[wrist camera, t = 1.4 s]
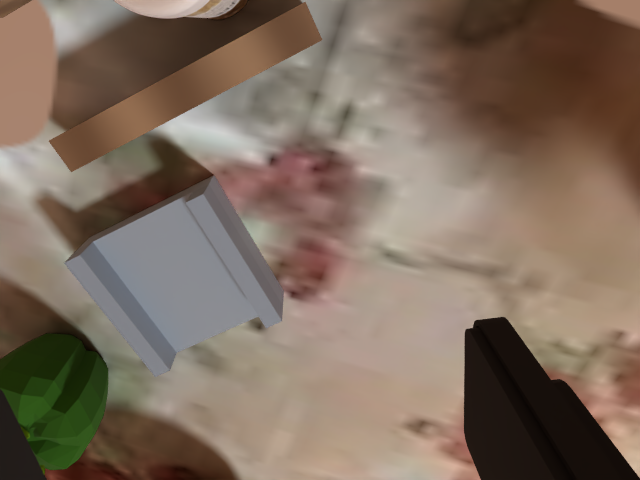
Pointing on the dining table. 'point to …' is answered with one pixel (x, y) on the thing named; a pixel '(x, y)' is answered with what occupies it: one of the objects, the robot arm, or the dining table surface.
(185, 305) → the cradle
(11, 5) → the channel
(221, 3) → the sprinkles bottle
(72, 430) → the bell pepper
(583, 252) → the dining table surface
